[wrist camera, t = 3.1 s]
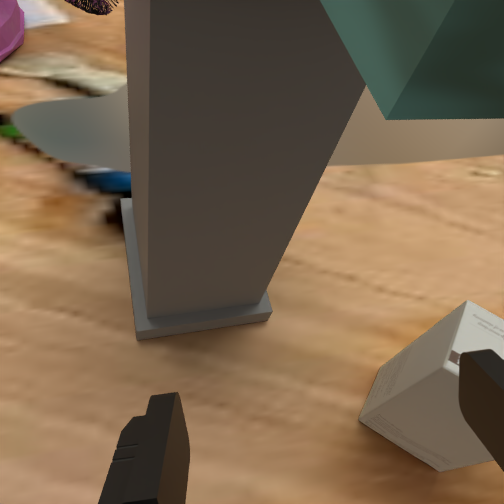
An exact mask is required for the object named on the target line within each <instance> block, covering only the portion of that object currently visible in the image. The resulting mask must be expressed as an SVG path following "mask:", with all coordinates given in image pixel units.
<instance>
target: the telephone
mask: <svg viewBox="0 0 504 504" xmlns="http://www.w3.org/2000/svg"><path fill="white" fill-rule="evenodd" d="M65 1H66V2H68V3H71V4H72V5H74V6H75V7H77V8H80V9H81V10H83V11H85V12H87V13H91V14H96V15H107V14H109V13H110V12H111V11H112V9H111V8H108V7H110V6H111V7H112V5H111V4H110V3H109V1H108V0H107V1H108V3H109V4H110V5H109V4H108V3H107V2H106V1H105V0H89V1H88V3H87V0H80V1H81V4H80V1H79V2H78V0H65ZM83 1H84V2H83ZM111 1H112V0H111ZM116 1H117V0H116ZM116 1H115V2H116ZM102 2H103V3H104V4H103V3H102ZM112 2H113V1H112ZM76 3H77V4H76ZM89 3H90V6H89ZM105 3H106V4H105ZM116 3H118V1H117V2H116ZM82 4H83V7H82ZM87 4H88V5H87ZM91 4H92V8H91ZM102 4H103V5H102ZM107 4H108V5H107ZM113 4H114V5H115V6H116V7H117V5H116V4H115V3H114V2H113ZM84 5H85V7H84ZM97 5H98V7H97ZM100 5H101V6H100ZM104 5H105V6H104ZM80 6H81V7H80ZM86 6H87V8H86ZM102 6H104V7H102ZM88 7H89V9H88ZM96 7H97V8H96ZM93 8H94V10H93ZM103 8H104V9H103ZM107 8H108V9H107ZM112 8H113V7H112ZM87 9H88V10H87ZM96 9H97V10H96ZM105 9H106V11H105ZM103 10H104V11H103ZM99 11H100V12H99ZM101 11H102V12H101ZM23 42H24V12H23V11H22V9H21V8H20V7H19V6H18V3H17V0H0V62H1V61H2V60H3V59H5V58H6V57H7V56H8V55H9V54H11V53H12V52H13V51H14V50H16V49H17V48H18V47H19V46H20V45H22V44H23Z"/></svg>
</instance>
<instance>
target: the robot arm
mask: <svg viewBox="0 0 504 504" xmlns="http://www.w3.org/2000/svg"><path fill="white" fill-rule="evenodd" d="M458 399H459V406H460V410H461V413H462V415H463V417H464V419H465V421H466V422H467V424H468V425H469V426H470V428H471V429H472V430H473V432H474V433H475V434H476V436H477V437H478V438H479V440H480V441H481V442H482V444H483V445H484V446H485V447H486V449H487V450H488V451H489V453H490V454H491V455H492V457H493V458H494V459H495V461H496V462H497V463H498V465H499V466H500V467H501V469H502V470H503V471H504V360H503V359H502V358H501V357H500V356H499V355H498V354H497V353H496V352H495V351H493V350H492V349H484V350H477V351H469V352H463V353H462V354H461V355H460V360H459V395H458ZM112 460H113V462H112V463H111V465H110V468H109V471H108V474H107V477H106V481H105V484H104V487H103V490H102V493H101V496H100V499H99V502H98V504H185V500H186V491H187V481H188V472H189V463H190V445H189V437H188V432H187V427H186V423H185V418H184V413H183V409H182V404H181V399H180V396H179V393H178V392H174V393H167V394H159V395H152V396H151V397H150V400H149V404H148V408H147V411H146V415H144V416H137V417H133V418H132V419H131V420H130V422H129V423H128V424H127V425H126V426H125V428H124V429H123V430H122V431H121V434H120V437H119V441H118V444H117V450H115V453H114V456H113V459H112Z"/></svg>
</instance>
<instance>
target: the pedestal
mask: <svg viewBox="0 0 504 504" xmlns="http://www.w3.org/2000/svg"><path fill="white" fill-rule="evenodd" d="M124 9H125V35H126V60H127V86H128V110H129V134H130V135H129V136H130V162H131V187H132V198H125V199H121V211H122V219H123V228H124V236H125V245H126V253H127V262H128V270H129V279H130V287H131V296H132V304H133V313H134V322H135V330H136V339H137V340H143V339H150V338H156V337H163V336H169V335H176V334H182V333H189V332H195V331H202V330H208V329H215V328H222V327H228V326H235V325H241V324H248V323H254V322H261V321H267V320H268V319H269V317H270V315H271V313H272V312H273V311H272V308H271V304H270V301H269V297H268V294H267V290H266V289H267V287H268V285H269V283H270V280H271V278H272V276H273V274H274V272H275V270H276V268H277V266H278V264H279V262H280V260H281V258H282V256H283V254H284V252H285V250H286V248H287V246H288V244H289V242H290V240H291V238H292V236H293V233H294V231H295V229H296V227H297V225H298V223H299V221H300V219H301V217H302V215H303V213H304V211H305V209H306V207H307V205H308V203H309V201H310V199H311V197H312V195H313V193H314V191H315V189H316V186H317V184H318V182H319V180H320V178H321V176H322V174H323V172H324V170H325V168H326V166H327V164H328V162H329V160H330V158H331V156H332V154H333V151H334V150H335V148H336V146H337V144H338V141H339V139H340V137H341V135H342V133H343V131H344V129H345V127H346V125H347V123H348V121H349V119H350V117H351V115H352V113H353V111H354V109H355V107H356V105H357V103H358V101H359V98H360V96H361V94H362V92H363V90H364V88H365V86H366V83H365V81H364V80H363V78H362V76H361V74H360V72H359V70H358V69H357V67H356V65H355V63H354V61H353V60H352V58H351V56H350V54H349V52H348V50H347V49H346V47H345V45H344V43H343V41H342V40H341V38H340V36H339V34H338V32H337V30H336V29H335V27H334V25H333V23H332V21H331V20H330V18H329V16H328V14H327V12H326V11H325V9H324V7H323V5H322V3H321V1H320V0H124Z"/></svg>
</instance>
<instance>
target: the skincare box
mask: <svg viewBox="0 0 504 504" xmlns="http://www.w3.org/2000/svg"><path fill="white" fill-rule="evenodd" d="M484 349H492V350H493V351H495V352H496V353H497V354H498V355H499V356H500V357H501V358H502V359H503V360H504V320H503V319H501V318H499V317H498V316H496V315H494V314H492V313H490V312H489V311H487V310H485V309H483V308H482V307H480V306H478V305H476V304H475V303H473V302H471V301H469V300H467V301H465V302H464V303H463V304H461V305H460V306H459V307H457V308H456V309H455V310H453V311H452V312H451V313H450V314H448V315H447V316H446V317H444V318H443V319H442V320H440V321H439V322H438V323H436V324H435V325H434V326H433V327H432V328H430V329H429V330H428V331H427V332H425V333H424V334H423V335H421V336H420V337H419V338H417V339H416V340H415V341H414V342H412V343H411V344H410V345H408V346H407V347H406V348H404V349H403V350H402V351H400V352H399V353H398V354H397V355H395V356H394V357H393V358H392V359H390V360H389V361H388V362H386V363H385V364H384V365H383V366H381V367H380V369H379V372H378V374H377V377H376V379H375V381H374V384H373V386H372V388H371V391H370V393H369V395H368V398H367V400H366V402H365V404H364V407H363V409H362V411H361V414H360V416H359V419H358V420H359V421H361V422H362V423H364V424H365V425H367V426H368V427H370V428H371V429H373V430H374V431H376V432H377V433H379V434H381V435H382V436H384V437H385V438H387V439H388V440H390V441H391V442H393V443H394V444H396V445H398V446H399V447H401V448H402V449H404V450H405V451H407V452H409V453H410V454H412V455H413V456H415V457H417V458H418V459H420V460H422V461H424V462H425V463H427V464H428V465H430V466H431V467H433V468H434V469H436V470H437V471H438V472H443V471H448V470H452V469H457V468H461V467H466V466H470V465H475V464H479V463H483V462H488V461H492V460H495V459H494V458H493V457H492V455H491V454H490V453H489V451H488V450H487V449H486V447H485V446H484V445H483V444H482V442H481V441H480V440H479V438H478V437H477V436H476V434H475V433H474V432H473V430H472V429H471V428H470V426H469V425H468V424H467V422H466V421H465V419H464V417H463V415H462V413H461V410H460V406H459V399H458V395H459V360H460V355H461V354H462V353H463V352H469V351H477V350H484Z"/></svg>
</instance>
